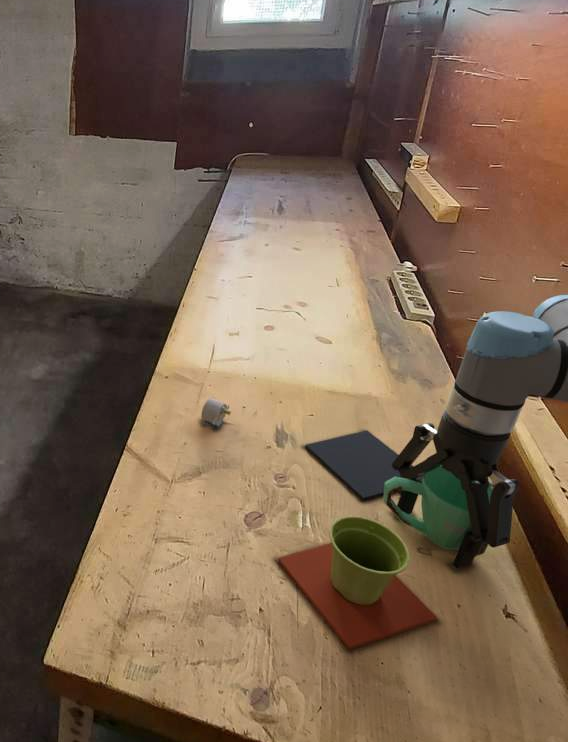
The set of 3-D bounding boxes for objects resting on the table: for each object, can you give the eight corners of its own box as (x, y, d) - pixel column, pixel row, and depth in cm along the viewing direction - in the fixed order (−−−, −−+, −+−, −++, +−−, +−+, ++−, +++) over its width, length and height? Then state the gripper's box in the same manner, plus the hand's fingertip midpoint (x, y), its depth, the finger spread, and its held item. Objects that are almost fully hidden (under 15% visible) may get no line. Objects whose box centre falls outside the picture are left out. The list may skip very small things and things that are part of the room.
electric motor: (219, 437, 109) (222, 417, 107) (197, 427, 112) (199, 407, 110) (235, 420, 114) (238, 400, 111) (213, 411, 117) (215, 391, 114)
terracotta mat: (436, 620, 75) (437, 617, 75) (348, 649, 72) (349, 646, 71) (355, 538, 87) (356, 535, 87) (277, 560, 84) (278, 557, 84)
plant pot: (400, 626, 74) (418, 582, 70) (320, 605, 77) (333, 561, 73) (386, 568, 81) (401, 525, 78) (314, 551, 84) (326, 509, 81)
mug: (469, 520, 89) (490, 472, 85) (494, 571, 81) (518, 521, 77) (366, 501, 94) (380, 454, 89) (379, 548, 85) (396, 499, 81)
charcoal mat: (430, 482, 97) (431, 479, 97) (362, 500, 94) (363, 497, 93) (366, 432, 109) (367, 430, 109) (304, 447, 106) (305, 444, 106)
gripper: (388, 381, 85) (355, 492, 95) (542, 481, 66) (481, 607, 76) (427, 373, 87) (391, 482, 97) (589, 468, 68) (523, 593, 78)
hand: (430, 537), depth 86 cm, fingers closed on mug, 9 cm apart
